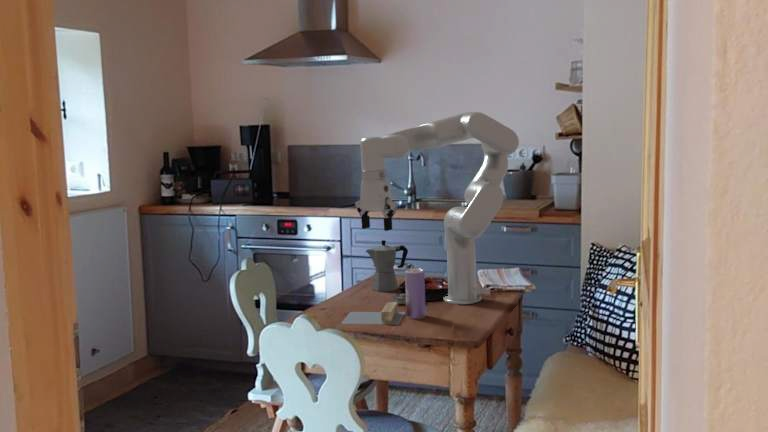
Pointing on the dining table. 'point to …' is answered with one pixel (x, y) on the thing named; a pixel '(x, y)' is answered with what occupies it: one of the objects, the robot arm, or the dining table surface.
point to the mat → (370, 318)
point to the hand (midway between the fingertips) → (377, 229)
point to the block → (389, 312)
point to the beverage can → (415, 293)
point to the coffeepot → (386, 266)
